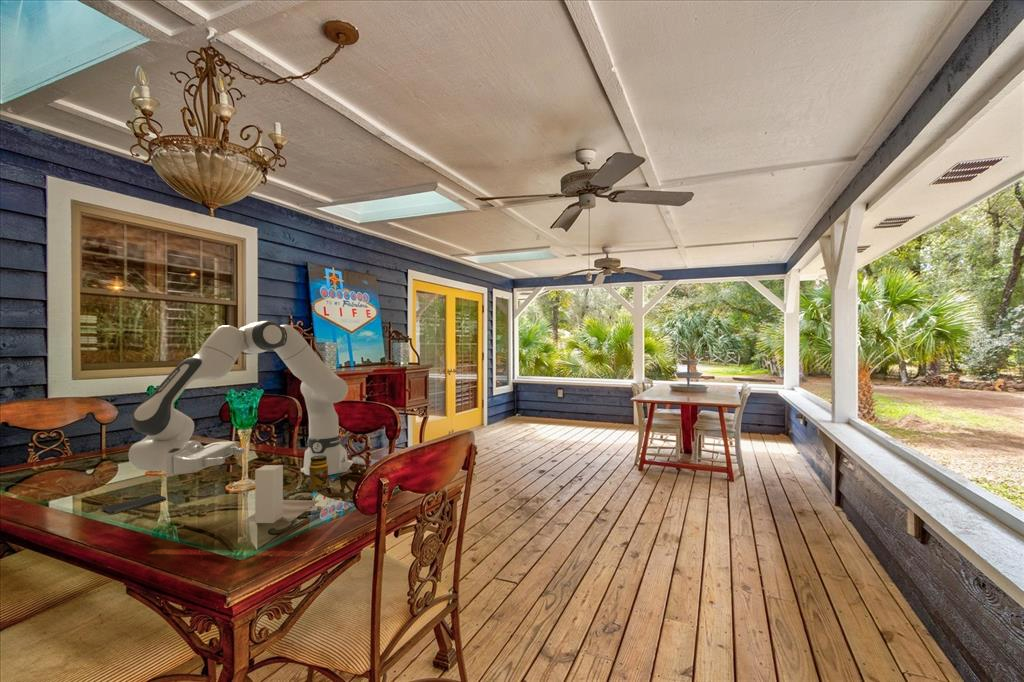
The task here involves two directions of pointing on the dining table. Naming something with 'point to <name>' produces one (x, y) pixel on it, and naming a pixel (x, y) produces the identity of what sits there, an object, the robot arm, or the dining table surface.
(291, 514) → the board
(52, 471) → the dining table surface
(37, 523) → the dining table surface
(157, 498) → the phone
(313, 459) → the condiment
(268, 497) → the tall gray pillar
